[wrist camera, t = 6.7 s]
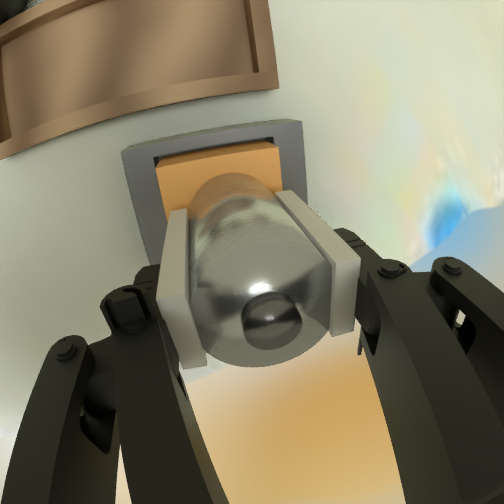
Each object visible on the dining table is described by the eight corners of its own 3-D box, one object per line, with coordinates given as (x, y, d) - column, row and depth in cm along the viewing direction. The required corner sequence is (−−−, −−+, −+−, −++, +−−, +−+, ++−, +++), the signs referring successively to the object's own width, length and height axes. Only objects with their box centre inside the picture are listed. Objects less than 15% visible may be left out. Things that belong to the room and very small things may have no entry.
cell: (197, 260, 16) (209, 392, 9) (181, 181, 14) (170, 275, 7) (277, 245, 17) (342, 361, 9) (270, 166, 15) (354, 240, 7)
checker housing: (157, 259, 21) (154, 278, 18) (129, 145, 17) (120, 151, 15) (297, 232, 22) (309, 247, 20) (288, 118, 18) (301, 121, 16)
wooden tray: (9, 156, 15) (-8, 163, 13) (-6, 42, 11) (-22, 39, 9) (269, 89, 17) (279, 88, 15) (252, -32, 13) (259, -46, 11)
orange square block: (181, 249, 19) (181, 275, 17) (161, 157, 16) (155, 168, 14) (273, 231, 20) (287, 253, 17) (263, 139, 17) (278, 147, 14)
